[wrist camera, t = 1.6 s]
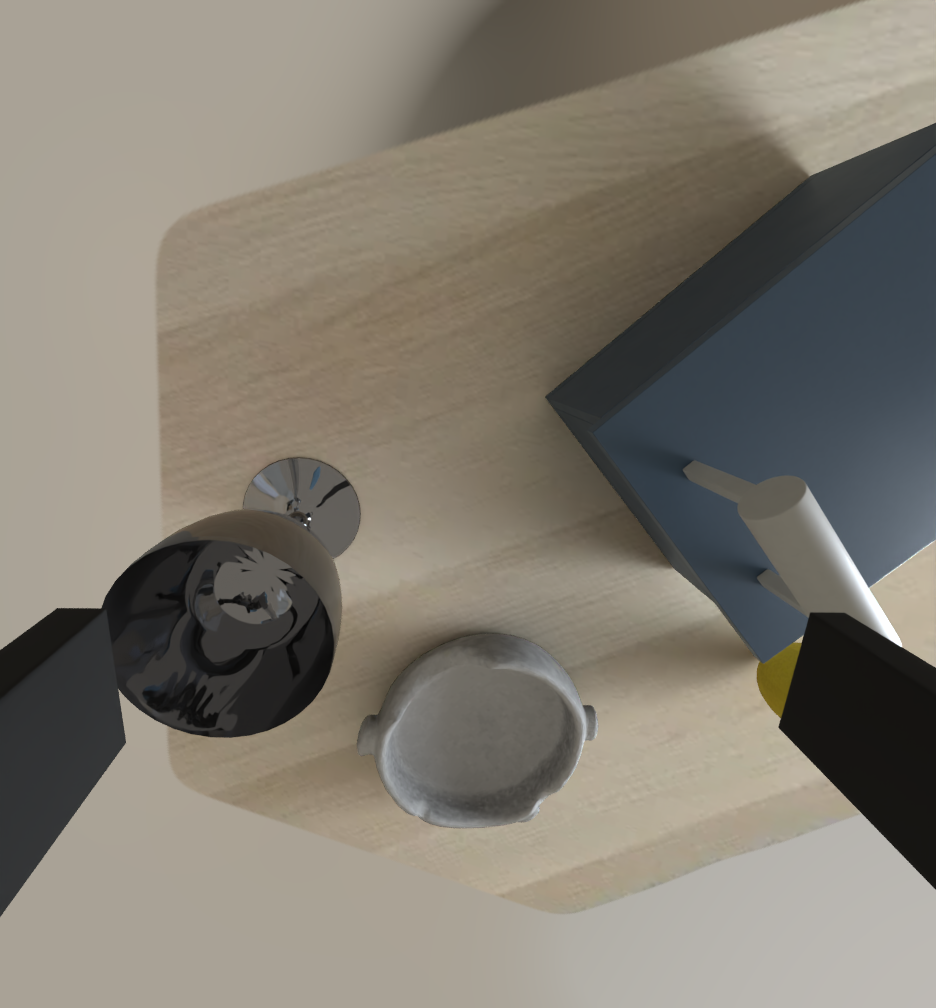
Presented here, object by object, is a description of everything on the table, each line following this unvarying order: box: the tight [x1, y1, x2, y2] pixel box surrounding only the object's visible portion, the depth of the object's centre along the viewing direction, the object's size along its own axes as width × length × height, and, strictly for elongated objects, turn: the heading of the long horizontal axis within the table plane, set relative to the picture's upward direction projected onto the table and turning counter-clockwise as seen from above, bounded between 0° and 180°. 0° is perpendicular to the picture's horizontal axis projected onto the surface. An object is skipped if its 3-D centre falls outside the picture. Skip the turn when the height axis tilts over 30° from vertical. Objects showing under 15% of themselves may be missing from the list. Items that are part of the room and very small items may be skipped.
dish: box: [357, 633, 598, 828], centre depth 36 cm, size 14×14×5 cm
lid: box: [587, 146, 936, 664], centre depth 20 cm, size 20×16×8 cm
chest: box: [545, 123, 936, 602], centre depth 29 cm, size 20×16×10 cm
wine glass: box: [101, 458, 361, 738], centre depth 25 cm, size 8×8×15 cm
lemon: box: [757, 643, 802, 718], centre depth 36 cm, size 6×6×8 cm
